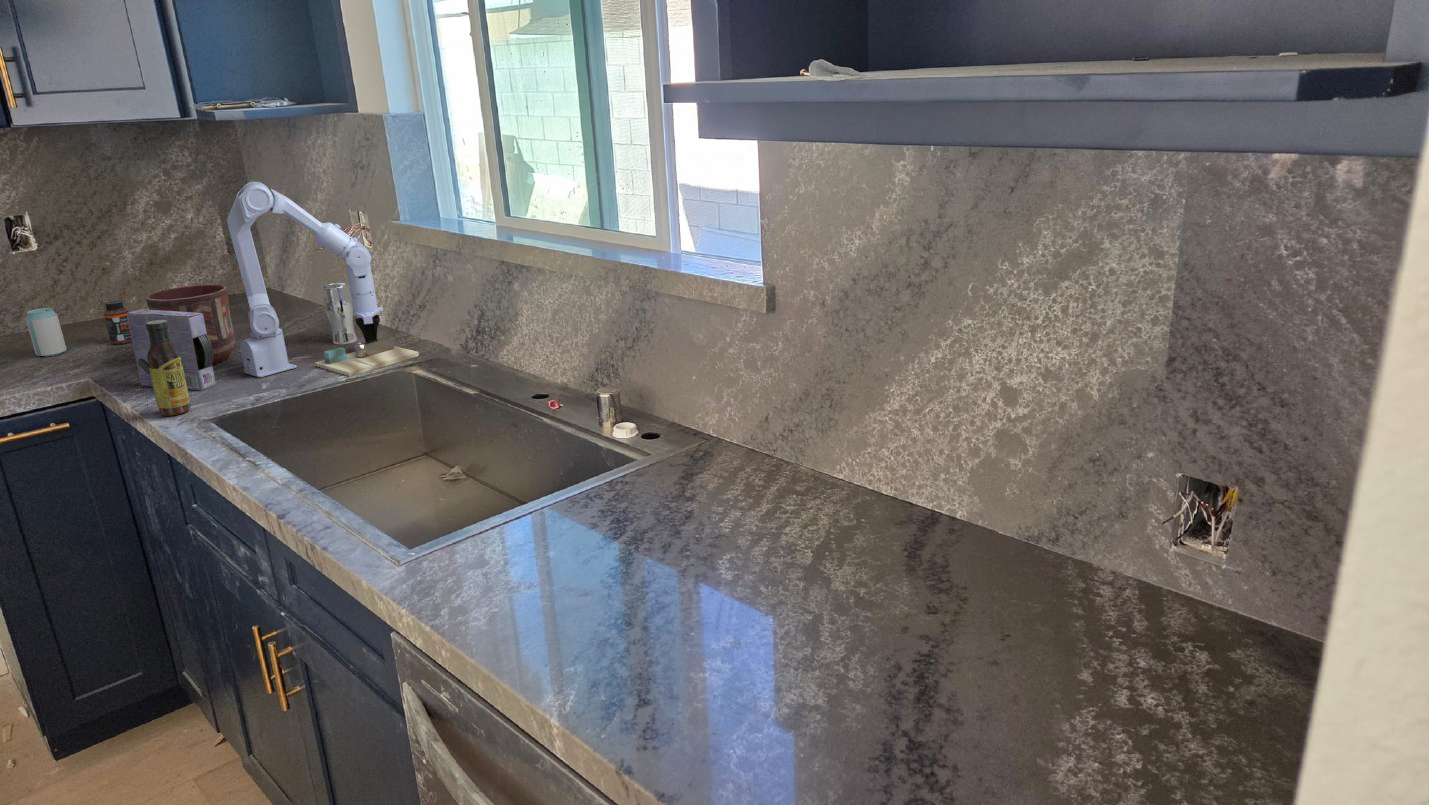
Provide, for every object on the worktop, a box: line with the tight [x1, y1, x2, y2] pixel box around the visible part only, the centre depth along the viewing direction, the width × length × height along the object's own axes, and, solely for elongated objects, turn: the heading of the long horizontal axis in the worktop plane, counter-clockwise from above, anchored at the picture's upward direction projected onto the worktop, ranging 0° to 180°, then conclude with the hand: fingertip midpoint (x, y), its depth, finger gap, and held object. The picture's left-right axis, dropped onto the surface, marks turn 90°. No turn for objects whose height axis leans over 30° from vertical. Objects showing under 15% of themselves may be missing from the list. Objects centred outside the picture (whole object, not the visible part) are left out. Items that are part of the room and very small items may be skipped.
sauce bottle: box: [146, 320, 191, 417], centre depth 211 cm, size 7×6×20 cm
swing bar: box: [353, 336, 395, 358], centre depth 246 cm, size 10×3×3 cm, turn 141°
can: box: [25, 307, 67, 357], centre depth 264 cm, size 7×7×12 cm
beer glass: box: [321, 282, 358, 345], centre depth 261 cm, size 7×7×15 cm
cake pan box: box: [127, 308, 217, 392], centre depth 230 cm, size 19×5×18 cm, turn 72°
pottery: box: [145, 284, 236, 366], centre depth 249 cm, size 18×18×18 cm
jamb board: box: [314, 345, 420, 377], centre depth 244 cm, size 19×15×4 cm
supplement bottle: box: [103, 300, 132, 345], centre depth 273 cm, size 6×6×11 cm
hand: (372, 345), depth 250 cm, fingers closed
